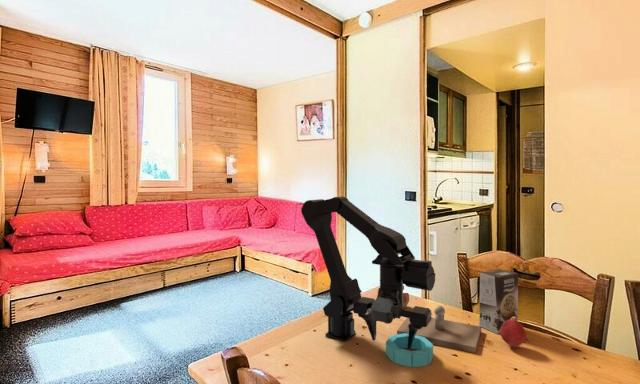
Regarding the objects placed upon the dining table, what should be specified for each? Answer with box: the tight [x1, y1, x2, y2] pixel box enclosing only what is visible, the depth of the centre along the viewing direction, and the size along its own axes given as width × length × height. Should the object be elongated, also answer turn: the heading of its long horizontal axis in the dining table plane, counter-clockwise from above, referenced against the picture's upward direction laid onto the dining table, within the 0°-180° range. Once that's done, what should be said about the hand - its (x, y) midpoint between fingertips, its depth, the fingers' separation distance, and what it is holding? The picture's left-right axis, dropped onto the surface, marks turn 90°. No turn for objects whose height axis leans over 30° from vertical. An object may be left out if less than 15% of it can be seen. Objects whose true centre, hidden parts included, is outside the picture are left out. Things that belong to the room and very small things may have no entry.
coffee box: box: [478, 268, 519, 335], centre depth 102 cm, size 9×6×16 cm
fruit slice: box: [403, 292, 410, 309], centre depth 119 cm, size 8×7×5 cm
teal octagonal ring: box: [385, 333, 434, 368], centre depth 87 cm, size 11×11×3 cm
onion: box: [499, 317, 527, 349], centre depth 90 cm, size 6×6×8 cm
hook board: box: [396, 305, 482, 354], centre depth 98 cm, size 20×14×8 cm
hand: (391, 344), depth 89 cm, fingers open, 9 cm apart
